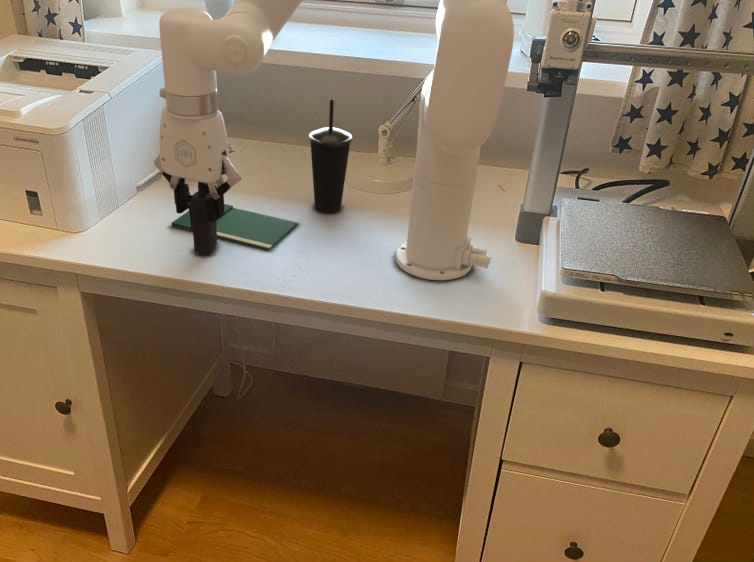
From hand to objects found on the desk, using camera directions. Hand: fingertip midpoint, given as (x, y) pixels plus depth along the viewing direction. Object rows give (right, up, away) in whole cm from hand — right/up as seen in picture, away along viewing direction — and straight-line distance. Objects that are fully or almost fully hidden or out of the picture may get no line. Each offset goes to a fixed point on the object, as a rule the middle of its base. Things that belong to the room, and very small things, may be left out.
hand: (200, 213), depth 122 cm
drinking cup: (+21, +5, +19) cm, 28 cm away
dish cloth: (+4, 0, +11) cm, 12 cm away
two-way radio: (0, -5, +4) cm, 7 cm away
